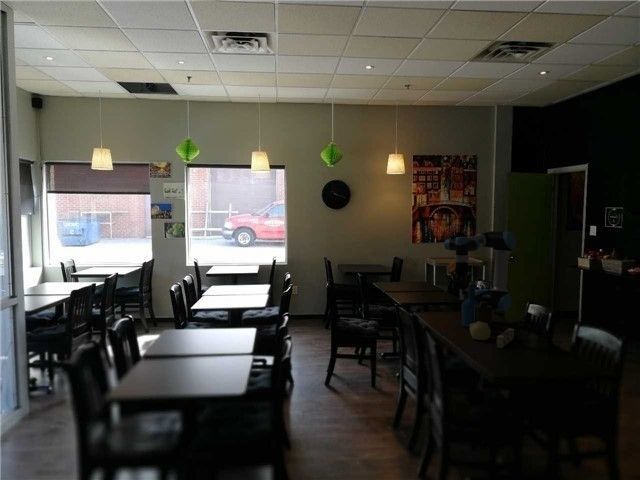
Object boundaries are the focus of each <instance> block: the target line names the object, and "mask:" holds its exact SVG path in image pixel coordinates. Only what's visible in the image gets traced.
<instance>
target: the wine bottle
mask: <svg viewBox="0 0 640 480" xmlns="http://www.w3.org/2000/svg"><path fill="white" fill-rule="evenodd" d="M475 290H476V287H475V283H474V282H472V281H471V282H469V286H468V297H467V298H466V299H465V300H464V301H463V302H462V303H461V325H462V327H466V328H469V329H470V324H473V323H475V322H474V305H478V304H480V302H479V301H477V300H476V299H475Z"/></svg>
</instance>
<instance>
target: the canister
mask: <svg viewBox="0 0 640 480" xmlns="http://www.w3.org/2000/svg"><path fill="white" fill-rule="evenodd" d="M487 303H488V302H483V301H481V302H480V304H478V305H474V322H475V323H476V322H478V321H479V322H485V323H487V324H488V327H489V328H490V335H491V334H492V323H491V318H492V309H491V307H492V306H490V305H487Z"/></svg>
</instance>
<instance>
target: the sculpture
mask: <svg viewBox="0 0 640 480" xmlns="http://www.w3.org/2000/svg"><path fill="white" fill-rule="evenodd" d="M469 332H470V336H471V338H473V339H474V340H478V341H487V340H488V339H490V336H491V334H490V328H489V327H488V324H487V323H485V322H479V321H478V322H476V323H473V324H470V328H469Z"/></svg>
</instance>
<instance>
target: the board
mask: <svg viewBox="0 0 640 480" xmlns="http://www.w3.org/2000/svg"><path fill="white" fill-rule="evenodd" d="M514 339H515V329H514V328H507V329H505V330H504V331H502V332H501V333H500V334H499V335H498V336H496V348H497V349H503V348H504V347H506V346H507V345H508V344H509V343H511V342H512V341H514Z"/></svg>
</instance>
